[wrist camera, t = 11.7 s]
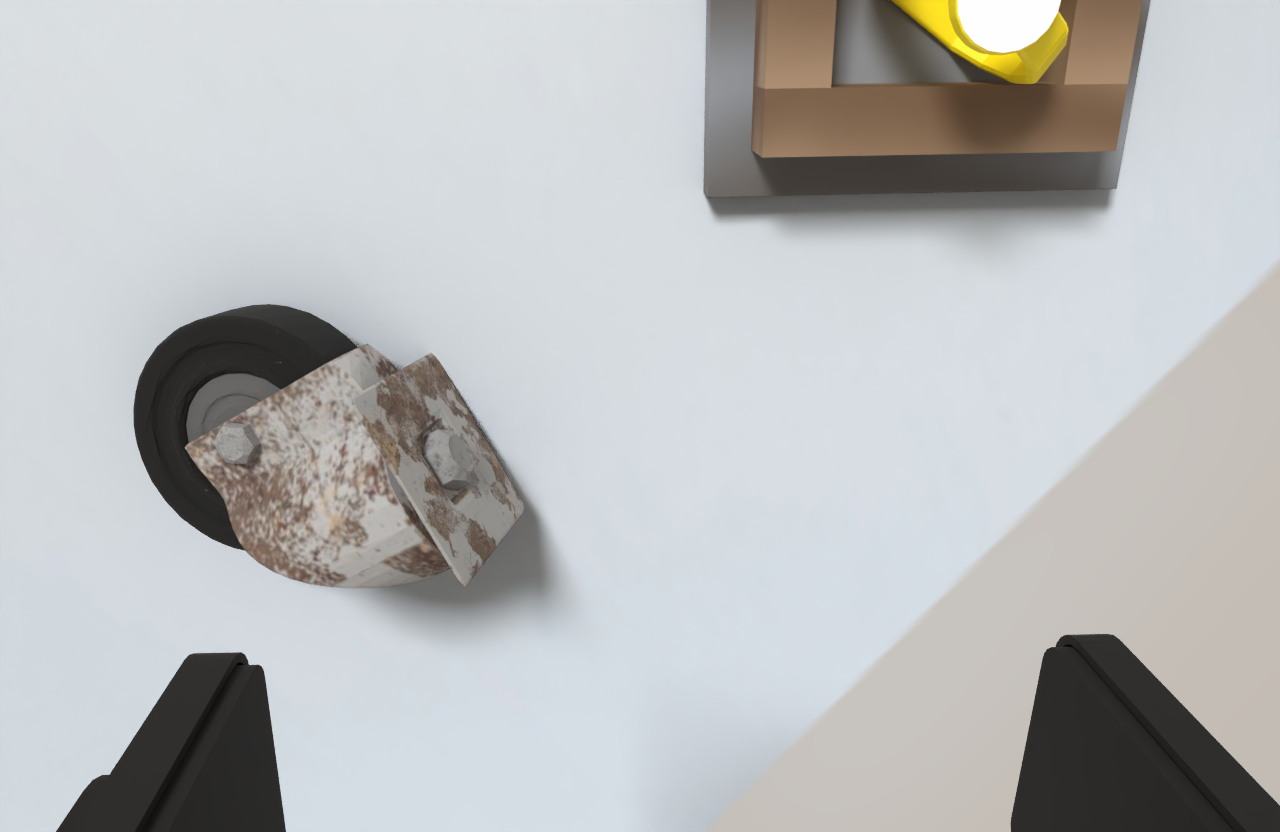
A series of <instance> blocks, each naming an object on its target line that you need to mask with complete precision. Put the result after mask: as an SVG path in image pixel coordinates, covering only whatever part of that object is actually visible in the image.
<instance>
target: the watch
mask: <svg viewBox="0 0 1280 832" xmlns="http://www.w3.org/2000/svg"><path fill="white" fill-rule="evenodd" d="M891 1H892V2H894V3H895V4H896V5H897V6H898V7H900V8H901V9H902V10H903V11H904V12H906V13H907V14H908V15H909V16H910V17H912V18H913V19H914V20H915V21H916V22H917V23H919V24H920V25H921V26H922V27H923V28H925V29H926V30H927V31H928V32H929V33H931V34H932V35H933V36H934V37H935V38H937V39H938V40H939V41H940V42H941V43H942V44H944V45H945V46H946V47H947V48H948V49H950V51H952V52H953V53H955V54H956V55H958V56H960V57H961V58H963V59H965V60H966V61H968V62H970V63H971V64H973V65H975V66H976V67H978V68H980V69H981V70H982V69H983V70H984V71H985V72H987V73H990V74H992V75H994V76H997V77H999V78H1002V79H1004V80H1006V81H1009V82H1011V83H1015V84H1034V83H1036V82H1037V81H1038V80H1039V79H1040V78H1041V76H1042V75H1043V74H1044V73H1045V71H1046V70H1047V69H1048V67H1049V66H1050V65H1051V64H1052V62H1053V61H1054V60H1055V59H1056V57H1057V56H1058V55H1059V53H1060V52H1061V51H1062V50H1063V48H1064V47H1065V46H1066V43H1067V37H1068V27H1067V23H1066V22H1065V20H1064V19H1063V17H1062V16H1061V14H1060V12H1059V11H1058V10H1059V7H1060V3H1061V0H891Z"/></svg>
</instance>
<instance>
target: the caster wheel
mask: <svg viewBox="0 0 1280 832" xmlns="http://www.w3.org/2000/svg"><path fill="white" fill-rule="evenodd" d="M134 429H135V436H136V441H137V445H138V448H139V451H140V455H141V458H142V461H143V463H144V465H145V467H146V470H147V472H148V474H149V476H150V478H151V480H152V482H153V484H154V485H155V486H156V488H157V489H158V491H159V492H160V494H161V495H162V497H163V498H164V499H165V501H166V502H167V503H168V504H169V505H170V506H171V507H172V508H173V509H174V510H175V511H176V513H177V514H178V515H179V516H180V517H181V518H182V519H184V520H185V521H186V522H188V523H189V524H190V525H192V526H193V527H195V528H196V529H197V530H199V531H200V532H202V533H203V534H205V535H206V536H208V537H210V538H211V539H213V540H215V541H218V542H220V543H222V544H225V545H227V546H230V547H233V548H237V549H241V550H245V551H246V552H247V553H248V554H249V555H250V556H251V557H253V558H254V559H255V560H256V561H257V562H258V563H260V564H261V565H263V566H265V567H266V568H268V569H270V570H271V571H273V572H275V573H278V574H280V575H283V576H285V577H287V578H290V579H293V580H297V581H300V582H304V583H308V584H313V585H320V586H327V587H340V588H374V587H385V586H394V585H401V584H408V583H413V582H418V581H422V580H425V579H428V578H430V577H433V576H435V575H437V574H439V573H441V572H443V571H445V570H447V569H450V568H451V569H452V571H453V573H454V574H455V576H456V577H457V579H458V580H459V581H460V582H461V583H462V584H463V585H464V586H465V587H466V585H467V584H468V583H469V581H470V580H471V579H472V578H473V576H474V575H475V574H476V573H477V571H478V570H479V569H480V567H481V566H482V565H483V564H484V562H485V561H486V560H487V558H488V557H489V556H490V555H491V553H492V552H493V551H494V549H495V548H496V547H497V546H498V544H499V543H500V542H501V541H502V539H503V538H504V537H505V535H506V534H507V533H508V532H509V530H510V529H511V528H512V526H513V525H514V524H515V523H516V521H517V520H518V519H519V518H520V516H521V515H522V514H523V512H524V504H523V502H522V501H521V499H520V497H519V496H518V494H517V492H516V490H515V489H514V487H513V485H512V484H511V482H510V480H509V479H508V477H507V475H506V473H505V472H504V470H503V468H502V467H501V465H500V463H499V462H498V460H497V458H496V457H495V455H494V453H493V451H492V450H491V448H490V446H489V445H488V443H487V441H486V440H485V438H484V436H483V435H482V433H481V431H480V429H479V428H478V426H477V424H476V423H475V421H474V419H473V418H472V416H471V414H470V412H469V411H468V409H467V407H466V406H465V404H464V402H463V401H462V399H461V397H460V396H459V394H458V392H457V390H456V389H455V387H454V385H453V384H452V382H451V380H450V379H449V377H448V375H447V374H446V372H445V370H444V368H443V367H442V365H441V363H440V362H439V361H438V359H437V358H436V357H435V356H434V355H433V354H432V353H430V354H428V355H427V356H425V357H423V358H421V359H419V360H418V361H416V362H414V363H412V364H410V365H409V366H407V367H405V368H403V369H401V370H399V371H398V370H397V369H396V368H395V367H394V365H393V364H392V363H391V362H390V361H389V360H388V359H387V358H386V357H385V356H383V355H382V354H381V353H379V352H378V351H376V350H375V349H374V348H372V347H371V346H369V345H368V344H367V345H363V346H361V347H358V348H357V346H356V345H355V344H354V343H353V342H352V341H350V340H349V339H348V338H347V337H346V336H345V335H344V334H342V333H341V332H340V331H339V330H337V329H336V328H335V327H333V326H332V325H331V324H329V323H327V322H325V321H323V320H321V319H320V318H318V317H316V316H314V315H312V314H310V313H308V312H304V311H301V310H298V309H294V308H291V307H288V306H279V305H271V304H268V305H252V306H247V307H242V308H238V309H233V310H229V311H226V312H223V313H219V314H216V315H213V316H209V317H206V318H203V319H199V320H196V321H194V322H192V323H190V324H187V325H185V326H183V327H180V328H179V329H177V330H176V331H174V332H173V333H172V334H171V335H170V336H168V337H167V338H166V339H165V340H164V341H163V342H162V343H160V344H159V345H158V346H157V348H156V349H155V351H154V352H153V353H152V355H151V356H150V358H149V359H148V361H147V362H146V364H145V366H144V369H143V371H142V373H141V375H140V377H139V381H138V385H137V389H136V394H135V402H134Z"/></svg>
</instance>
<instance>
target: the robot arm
mask: <svg viewBox="0 0 1280 832" xmlns="http://www.w3.org/2000/svg"><path fill="white" fill-rule="evenodd" d="M56 832H286V829H285V822H284V814H283V807H282V800H281V792H280V785H279V777H278V770H277V763H276V755H275V748H274V741H273V733H272V726H271V718H270V711H269V704H268V696H267V689H266V682H265V675H264V671H263V669H262V667H261V666H260V665H249V664H248V660H247V658H246V656H245V655H244V654H243V653H195V654H191V655H189V656H188V657H187V658H186V659H185V660H184V662H183V663H182V665H181V666H180V668H179V669H178V671H177V672H176V674H175V675H174V677H173V679H172V680H171V682H170V683H169V685H168V686H167V688H166V689H165V691H164V692H163V694H162V695H161V697H160V698H159V700H158V702H157V703H156V705H155V706H154V708H153V709H152V711H151V712H150V714H149V715H148V717H147V718H146V720H145V721H144V723H143V724H142V726H141V728H140V729H139V731H138V732H137V734H136V735H135V737H134V738H133V740H132V741H131V743H130V744H129V746H128V747H127V749H126V751H125V752H124V754H123V755H122V757H121V758H120V760H119V761H118V763H117V764H116V766H115V767H114V769H113V770H112V772H111V774H110V775H102V776H100V777H98V778H96V779H94V780H93V781H92V782H91V783H90V784H89V785H88V786H87V787H86V789H85V790H84V791H83V792H82V794H81V795H80V797H79V798H78V800H77V801H76V803H75V804H74V806H73V807H72V809H71V810H70V812H69V813H68V815H67V816H66V818H65V819H64V821H63V822H62V824H61V825H60V827H59V828H58V830H57V831H56ZM1011 832H1280V806H1279V805H1278V804H1277V802H1276V801H1275V800H1274V799H1273V798H1272V797H1271V796H1270V795H1269V794H1268V793H1267V792H1266V791H1265V790H1264V789H1263V788H1262V787H1261V786H1260V785H1259V784H1258V783H1257V782H1256V781H1255V780H1254V779H1253V777H1252V776H1250V774H1249V773H1248V772H1247V771H1246V770H1245V769H1244V768H1243V767H1242V766H1241V765H1240V764H1239V763H1238V762H1237V761H1236V760H1235V759H1234V758H1233V757H1232V756H1231V755H1230V754H1229V753H1228V752H1227V751H1226V750H1225V749H1224V748H1223V746H1222V745H1221V744H1220V743H1219V742H1218V741H1217V740H1216V739H1215V738H1214V737H1213V736H1212V735H1211V734H1210V733H1209V732H1208V731H1207V730H1206V729H1205V728H1204V727H1203V726H1202V725H1201V724H1200V723H1199V721H1198V720H1197V719H1196V718H1195V717H1194V716H1193V715H1192V714H1191V713H1190V712H1189V711H1188V710H1187V709H1186V708H1185V707H1184V706H1183V705H1182V704H1181V703H1180V702H1179V701H1178V700H1177V699H1176V698H1175V697H1174V696H1173V695H1172V694H1171V692H1170V691H1169V690H1168V689H1167V688H1166V687H1165V686H1164V685H1163V684H1162V683H1161V682H1160V681H1159V680H1158V679H1157V678H1156V677H1155V676H1154V675H1153V674H1152V673H1151V672H1150V671H1149V670H1148V669H1147V668H1146V667H1145V666H1144V664H1143V663H1141V661H1140V660H1139V659H1138V658H1137V657H1136V656H1135V655H1134V654H1133V653H1132V652H1131V651H1130V650H1129V649H1128V648H1127V647H1126V646H1125V645H1124V644H1123V643H1122V642H1121V641H1120V640H1119V639H1118V638H1117V637H1115V636H1114V635H1109V634H1094V635H1093V634H1091V635H1090V634H1089V635H1065V636H1063V637H1061V638H1060V639H1059V641H1058V642H1057V644H1056V647H1051V648H1049V649H1047V650H1046V652H1045V653H1044V656H1043V660H1042V665H1041V670H1040V675H1039V681H1038V685H1037V690H1036V695H1035V701H1034V706H1033V711H1032V716H1031V721H1030V726H1029V731H1028V736H1027V741H1026V746H1025V751H1024V756H1023V761H1022V767H1021V772H1020V777H1019V782H1018V787H1017V792H1016V797H1015V803H1014V807H1013V812H1012V817H1011Z"/></svg>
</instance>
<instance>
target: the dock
mask: <svg viewBox="0 0 1280 832" xmlns="http://www.w3.org/2000/svg"><path fill="white" fill-rule="evenodd" d="M1149 5H1150V0H1061V3H1060V7H1059V10H1058V11H1059V12H1060V14H1061V16H1062V17H1063V19H1064V20H1065V22H1066V23H1067V27H1068V37H1067V43H1066V46H1065V47H1064V48H1063V50H1062V51H1061V52H1060V53H1059V55H1058V56H1057V57H1056V59H1055V60H1054V61H1053V62H1052V64H1051V65H1050V66H1049V67H1048V69H1047V70H1046V71H1045V73H1044V74H1043V75H1042V76H1041V78H1040V79H1039V80H1038V81H1037V82H1036V83H1034V84H1015V83H1011V82H1009V81H1006V80H1004V79H1002V78H999V77H997V76H994V75H992V74H990V73H987V72H985V71H984V70H983V69H982V70H981V69H980V68H978V67H976V66H975V65H973V64H971V63H970V62H968V61H966V60H965V59H963V58H961V57H960V56H958V55H956V54H955V53H953V52H952V51H950V49H948V48H947V47H946V46H945V45H944V44H942V43H941V42H940V41H939V40H938V39H937V38H935V37H934V36H933V35H932V34H931V33H929V32H928V31H927V30H926V29H925V28H923V27H922V26H921V25H920V24H919V23H917V22H916V21H915V20H914V19H913V18H912V17H910V16H909V15H908V14H907V13H906V12H904V11H903V10H902V9H901V8H900V7H898V6H897V5H896V4H895V3H894V2H892V1H891V0H707V16H706V77H705V138H704V193H705V195H706V196H707V197H738V196H787V195H836V194H885V193H934V192H983V191H1032V190H1081V189H1116V188H1117V182H1118V177H1119V171H1120V166H1121V160H1122V154H1123V149H1124V143H1125V138H1126V132H1127V127H1128V121H1129V116H1130V110H1131V105H1132V99H1133V93H1134V88H1135V82H1136V77H1137V71H1138V66H1139V60H1140V55H1141V49H1142V44H1143V38H1144V33H1145V27H1146V21H1147V16H1148V10H1149Z"/></svg>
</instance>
